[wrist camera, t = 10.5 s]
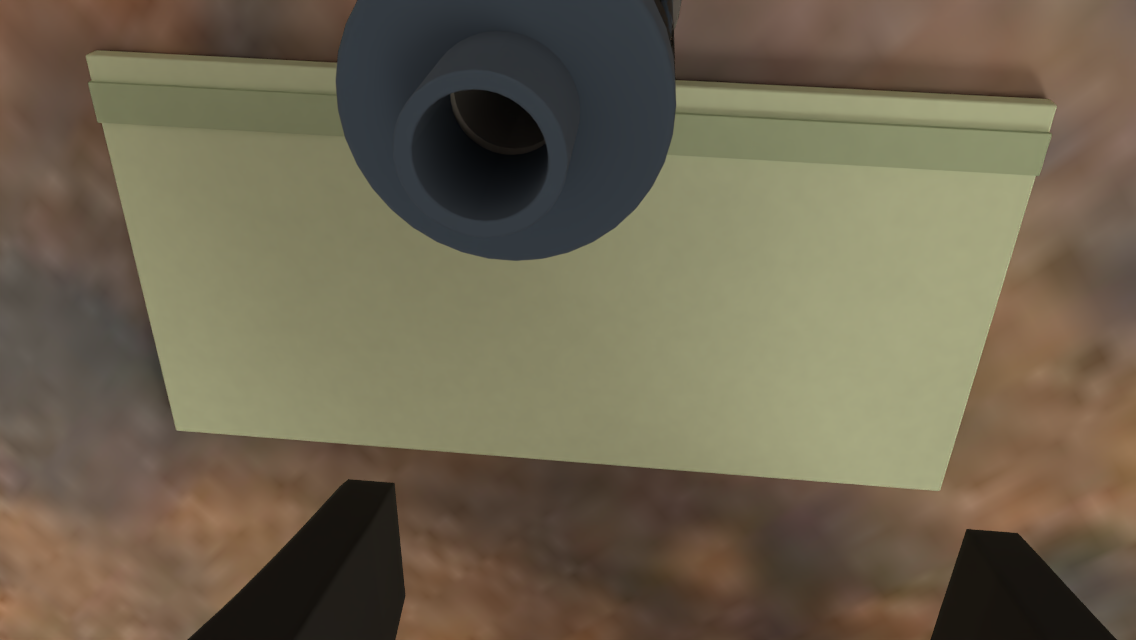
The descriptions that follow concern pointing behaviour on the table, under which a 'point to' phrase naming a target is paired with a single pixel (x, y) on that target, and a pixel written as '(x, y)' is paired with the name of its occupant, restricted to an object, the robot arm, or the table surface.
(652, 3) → the vaping device
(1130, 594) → the table surface
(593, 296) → the tray
